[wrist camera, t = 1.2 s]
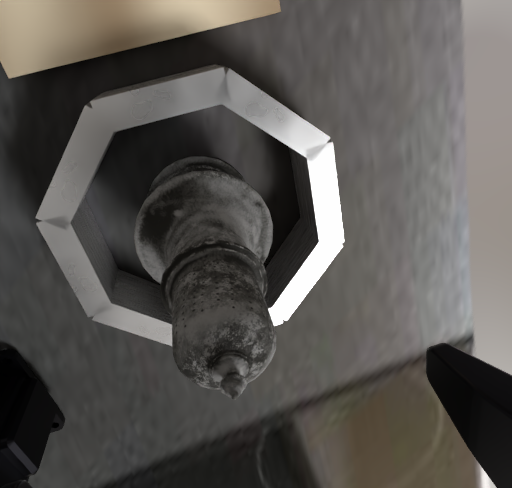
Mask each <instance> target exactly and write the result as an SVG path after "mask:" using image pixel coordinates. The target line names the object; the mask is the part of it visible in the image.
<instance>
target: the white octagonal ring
mask: <svg viewBox="0 0 512 488" xmlns="http://www.w3.org/2000/svg"><path fill="white" fill-rule="evenodd" d="M220 104H223V105H224V106H226V107H227V108H229V109H231V110H232V111H234V112H235V113H237V114H238V115H240V116H242V117H243V118H245V119H246V120H248V121H249V122H251V123H253V124H254V125H256V126H257V127H259V128H260V129H262V130H264V131H265V132H267V133H268V134H270V135H271V136H273V137H275V138H276V139H278V140H279V141H281V142H282V143H284V144H286V145H287V146H288V147H289V153H290V158H291V164H292V170H293V176H294V182H295V187H296V193H297V199H298V205H299V211H300V216H301V218H300V219H299V220H298V222H297V223H296V225H295V226H294V228H293V229H292V231H291V232H290V233H289V235H288V236H287V238H286V239H285V241H284V242H283V244H282V245H281V246H280V248H279V249H278V251H277V252H276V254H275V255H274V257H273V258H272V260H271V261H270V262H269V264H268V265H267V267H266V268H265V270H266V274H267V278H268V280H267V291H266V294H265V297H264V299H265V302H266V305H267V308H268V310H269V313H270V316H271V318H272V321H273V324H274V326H276V325H279V324H282V323H283V320H286V321H287V320H288V319H289V317H290V316H291V315H292V313H293V312H294V311H295V309H296V308H297V307H298V305H299V304H300V303H301V301H302V300H303V299H304V297H305V296H306V295H307V293H308V292H309V291H310V289H311V288H312V287H313V285H314V284H315V283H316V281H317V280H318V279H319V277H320V276H321V275H322V273H323V272H324V271H325V269H326V268H327V267H328V265H329V264H330V263H331V261H332V260H333V259H334V257H335V256H336V255H337V253H338V252H339V251H340V249H341V248H342V247H343V245H342V244H341V243H342V242H344V236H343V227H342V218H341V209H340V200H339V192H338V183H337V174H336V165H335V157H334V148H333V142H332V141H331V140H329V139H330V137H329V136H327V135H326V134H324V133H323V132H321V131H320V130H319V129H317V128H316V127H314V126H313V125H311V124H310V123H308V122H307V121H305V120H304V119H302V118H301V117H300V116H298V115H297V114H295V113H294V112H292V111H291V110H289V109H288V108H286V107H285V106H284V105H282V104H281V103H279V102H278V101H276V100H275V99H273V98H272V97H270V96H269V95H268V94H266V93H265V92H263V91H262V90H260V89H259V88H257V87H256V86H254V85H253V84H251V83H250V82H249V81H247V80H246V79H244V78H243V77H241V76H240V75H238V74H237V73H235V72H234V71H233V70H231V69H230V68H227V67H224V66H222V65H220V66H219V65H217V64H213V65H209V66H205V67H201V68H197V69H193V70H189V71H185V72H181V73H177V74H173V75H169V76H165V77H161V78H157V79H153V80H149V81H145V82H142V83H138V84H134V85H130V86H126V87H122V88H118V89H114V90H110V91H106V92H103V93H101V94H100V95H98V96H97V97H95V98H94V99H92V100H91V101H90V102H89V103H87V104H86V105H85V107H84V109H83V111H82V113H81V116H80V118H79V120H78V122H77V125H76V127H75V129H74V131H73V134H72V136H71V138H70V141H69V143H68V145H67V147H66V150H65V152H64V154H63V156H62V159H61V161H60V163H59V165H58V168H57V170H56V172H55V175H54V177H53V179H52V181H51V184H50V186H49V188H48V190H47V193H46V195H45V197H44V199H43V202H42V204H41V206H40V208H39V211H38V213H37V215H36V218H37V219H38V221H37V222H36V225H37V226H38V228H39V230H40V232H41V233H42V235H43V237H44V239H45V241H46V242H47V244H48V246H49V248H50V250H51V251H52V253H53V255H54V257H55V258H56V260H57V262H58V264H59V266H60V267H61V269H62V271H63V273H64V275H65V276H66V278H67V280H68V282H69V284H70V285H71V287H72V289H73V291H74V292H75V294H76V296H77V298H78V300H79V301H80V303H81V305H82V307H83V309H84V310H85V312H86V314H87V316H88V317H90V316H93V318H92V320H94V321H97V322H100V323H103V324H106V325H109V326H112V327H115V328H118V329H121V330H124V331H127V332H130V333H134V334H137V335H140V336H143V337H146V338H149V339H152V340H155V341H158V342H161V343H164V344H167V345H170V346H172V316H171V315H170V314H169V313H168V312H167V311H166V309H165V307H164V305H163V303H162V300H161V294H160V285H157V284H155V283H152V282H150V281H147V280H144V279H142V278H139V277H137V276H134V275H132V274H129V273H127V272H124V271H121V270H119V269H118V267H117V265H116V263H115V261H114V258H113V256H112V254H111V252H110V250H109V248H108V246H107V244H106V241H105V239H104V237H103V235H102V233H101V231H100V229H99V226H98V224H97V222H96V220H95V218H94V216H93V214H92V212H91V209H90V207H89V205H88V203H87V201H86V199H85V196H86V194H87V192H88V190H89V188H90V185H91V183H92V181H93V179H94V177H95V175H96V173H97V171H98V169H99V167H100V165H101V162H102V160H103V158H104V156H105V154H106V152H107V150H108V148H109V146H110V144H111V142H112V140H113V137H114V135H115V133H116V131H120V130H124V129H128V128H131V127H135V126H139V125H143V124H147V123H151V122H154V121H158V120H162V119H166V118H170V117H174V116H177V115H181V114H185V113H189V112H193V111H197V110H201V109H204V108H208V107H212V106H216V105H220ZM282 319H283V320H282Z"/></svg>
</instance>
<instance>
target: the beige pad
mask: <svg viewBox="0 0 512 488" xmlns="http://www.w3.org/2000/svg"><path fill="white" fill-rule="evenodd" d="M278 12H281V10H280V3H279V0H0V62H1V64H2V66H3V68H4V70H5V72H6V74H7V76H8V78H14V77H18V76H22V75H26V74H30V73H34V72H38V71H42V70H46V69H50V68H55V67H59V66H63V65H67V64H71V63H75V62H79V61H83V60H87V59H91V58H95V57H99V56H103V55H108V54H112V53H116V52H120V51H124V50H128V49H132V48H136V47H140V46H144V45H148V44H152V43H156V42H161V41H165V40H169V39H173V38H177V37H181V36H185V35H189V34H193V33H197V32H201V31H205V30H209V29H214V28H218V27H222V26H226V25H230V24H234V23H238V22H242V21H246V20H250V19H254V18H258V17H262V16H267V15H271V14H275V13H278Z"/></svg>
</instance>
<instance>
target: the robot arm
mask: <svg viewBox="0 0 512 488" xmlns="http://www.w3.org/2000/svg"><path fill="white" fill-rule="evenodd" d="M6 358H9V359H11V360H7V359H6ZM426 373H427V377H428V380H429V382H430V384H431V386H432V387H433V389H434V391H435V393H436V394H437V396H438V398H439V399H440V401H441V403H442V405H443V406H444V408H445V410H446V411H447V413H448V415H449V416H450V418H451V420H452V422H453V423H454V425H455V427H456V428H457V430H458V432H459V433H460V435H461V437H462V438H463V440H464V442H465V443H466V445H467V447H468V448H469V450H470V451H471V452H472V454H473V455H474V457H475V458H476V460H477V461H478V462H479V464H480V465H481V466H482V468H483V469H484V471H485V472H486V473H487V475H488V476H489V478H490V479H491V480H492V482H493V483H494V484H495V486H496V487H497V488H512V375H510V374H508V373H506V372H504V371H502V370H500V369H498V368H496V367H494V366H492V365H490V364H487V363H486V362H484V361H482V360H480V359H478V358H476V357H474V356H472V355H470V354H468V353H466V352H464V351H462V350H460V349H458V348H456V347H454V346H452V345H450V344H447V343H440V344H437V345H434V346H431V347H429V348H428V349H427V352H426ZM64 422H65V417H64V416H63V414H62V413H61V412H60V410H59V409H58V406H57V404H56V403H55V402H54V400H53V399H52V397H51V396H50V395H49V393H48V392H47V391H46V389H45V388H44V386H43V385H42V384H41V382H40V381H39V380H38V379H37V378H36V377H35V375H34V374H33V373H32V371H31V370H30V368H29V367H28V366H27V364H26V363H25V362H24V360H23V359H22V357H21V356H20V355H19V353H18V352H16V351H14V350H10V349H8V350H3V351H0V488H32V487H31V486H30V484H29V483H28V479H29V476H31V475H34V474H36V472H37V470H38V469H39V466H40V463H41V460H42V456H43V453H44V450H45V447H46V444H47V440H48V437H49V434H50V433H51V432H55V431H58V430H60V429H62V428H63V426H64Z"/></svg>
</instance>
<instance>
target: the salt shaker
mask: <svg viewBox="0 0 512 488" xmlns="http://www.w3.org/2000/svg"><path fill="white" fill-rule="evenodd" d="M272 240H273V224H272V220H271V216H270V212H269V209H268V207H267V206H266V204H265V202H264V201H263V199H262V197H261V196H260V194H259V193H257V192H256V191H255V190H254V189H253V188H252V187H251V186H250V185H249V184H248V183H246V182H245V181H244V179H243V177H242V176H241V174H239V173H238V172H237V171H236V170H235V169H234V168H233V167H232V166H231V165H229V164H227V163H225V162H223V161H221V160H219V159H216V158H211V157H207V156H191V157H187V158H184V159H180V160H177V161H175V162H173V163H172V164H170V165H169V166H167V167H165V168H164V169H163V170H162V171H161V172H160V173H159V174H158V175H157V176H156V178H155V179H154V180H153V182H152V185H151V187H150V189H149V191H148V195H147V199H146V200H145V201H144V203H143V205H142V207H141V209H140V211H139V213H138V215H137V217H136V223H135V230H134V242H135V249H136V253H137V255H138V257H139V259H140V262H141V264H142V266H143V267H144V269H145V270H146V271H147V272H148V273H149V274H150V275H151V277H152V278H153V279H154V280H156V281H157V282H159V283H160V294H161V300H162V303H163V305H164V307H165V309H166V311H167V312H168V313H169V314H170V315H171V316H172V348H173V356H174V359H175V362H176V364H177V366H178V368H179V370H180V372H181V373H182V374H183V375H184V376H185V377H186V378H187V379H189V380H191V381H192V382H194V383H196V384H198V385H199V386H201V387H205V388H209V389H216V390H220V391H221V392H222V393H224V394H225V395H227V396H228V397H230V398H232V399H237V398H239V395H241V394H242V392H243V390H244V389H245V388H246V386H247V383H249V382H250V381H252V380H254V379H255V378H256V377H258V376H259V375H260V374H261V373H262V372H263V371H264V370H265V368H266V367H267V366H268V364H269V363H270V361H271V360H272V358H273V355H274V353H275V350H276V331H275V327H274V324H273V321H272V318H271V316H270V313H269V310H268V308H267V305H266V302H265V299H264V297H265V294H266V291H267V280H268V278H267V274H266V270H265V267H264V265H263V263H264V261H265V260H266V258H267V257H268V254H269V251H270V248H271V244H272Z"/></svg>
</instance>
